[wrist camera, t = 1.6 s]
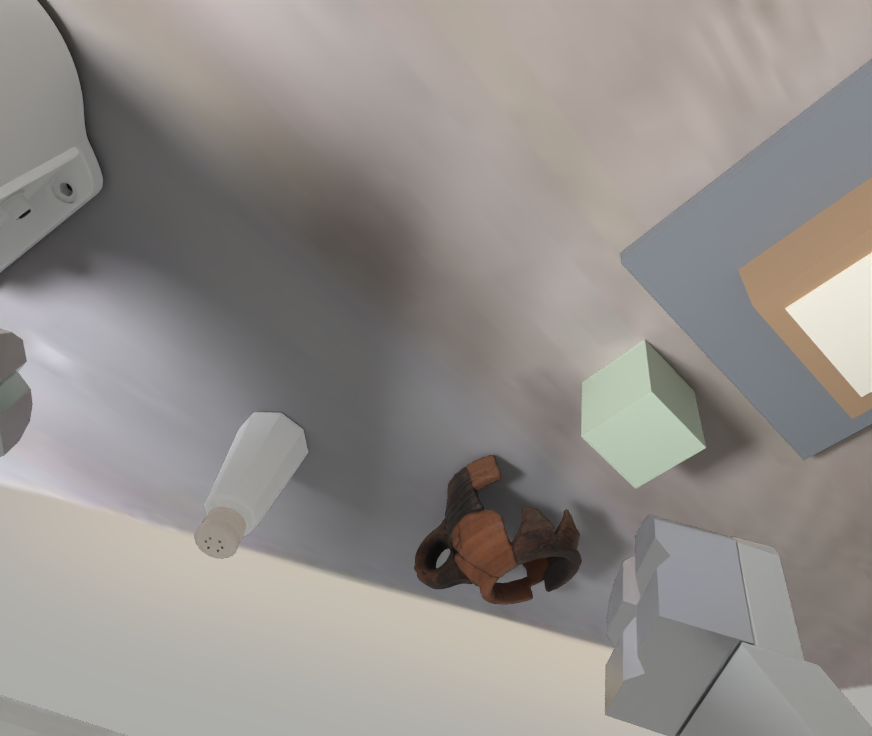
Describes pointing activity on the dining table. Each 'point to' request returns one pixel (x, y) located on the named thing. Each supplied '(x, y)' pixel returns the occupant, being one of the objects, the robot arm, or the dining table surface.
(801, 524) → the dining table surface
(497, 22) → the dining table surface
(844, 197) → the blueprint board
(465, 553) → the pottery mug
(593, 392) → the sage block
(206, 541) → the pepper shaker
